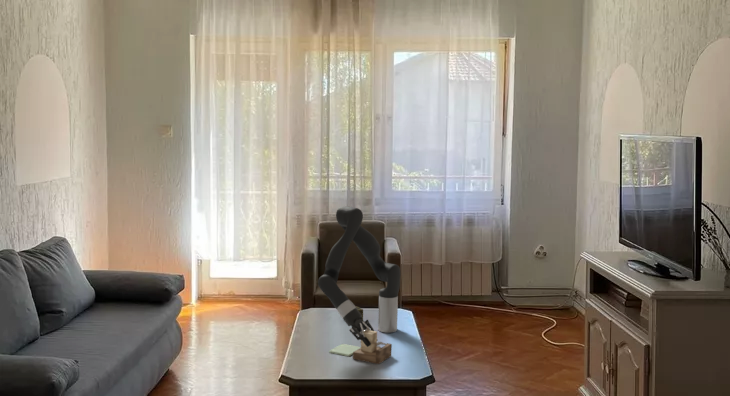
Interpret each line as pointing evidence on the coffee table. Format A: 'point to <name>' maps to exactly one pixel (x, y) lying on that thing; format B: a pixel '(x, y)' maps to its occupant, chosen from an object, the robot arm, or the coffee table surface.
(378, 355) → the walnut ledge
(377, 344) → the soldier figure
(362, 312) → the olive green cube
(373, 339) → the birch block
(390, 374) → the coffee table surface
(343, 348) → the pad
